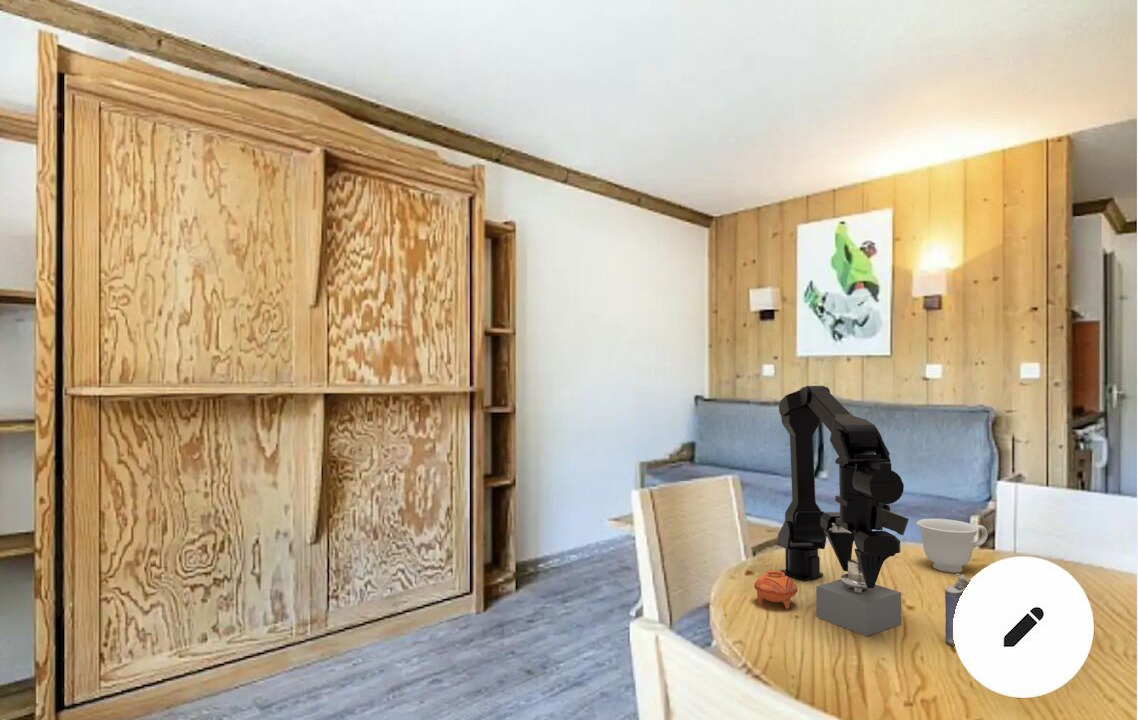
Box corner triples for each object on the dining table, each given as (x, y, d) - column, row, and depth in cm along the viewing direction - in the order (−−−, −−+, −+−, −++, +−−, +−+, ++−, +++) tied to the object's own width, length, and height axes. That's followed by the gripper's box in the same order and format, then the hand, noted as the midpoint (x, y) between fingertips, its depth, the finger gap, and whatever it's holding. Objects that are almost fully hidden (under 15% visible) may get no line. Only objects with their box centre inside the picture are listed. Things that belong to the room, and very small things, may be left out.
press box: (816, 616, 114) (816, 586, 114) (850, 606, 119) (850, 576, 119) (866, 636, 105) (866, 603, 106) (901, 624, 111) (900, 592, 111)
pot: (763, 612, 116) (759, 573, 117) (751, 606, 123) (747, 570, 125) (806, 610, 116) (801, 572, 117) (792, 605, 123) (787, 569, 125)
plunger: (829, 616, 114) (829, 560, 114) (853, 609, 117) (852, 554, 117) (863, 630, 108) (863, 570, 108) (887, 621, 111) (886, 563, 111)
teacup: (1005, 577, 135) (1004, 531, 135) (936, 577, 135) (935, 531, 135) (970, 560, 147) (969, 518, 147) (907, 560, 147) (906, 518, 148)
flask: (957, 649, 101) (956, 582, 101) (939, 642, 103) (938, 577, 103) (987, 636, 105) (986, 572, 106) (968, 630, 108) (967, 568, 108)
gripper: (931, 503, 103) (932, 597, 103) (875, 483, 122) (876, 563, 122) (864, 503, 103) (866, 598, 103) (818, 483, 122) (819, 563, 122)
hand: (857, 579), depth 112 cm, fingers open, 9 cm apart
